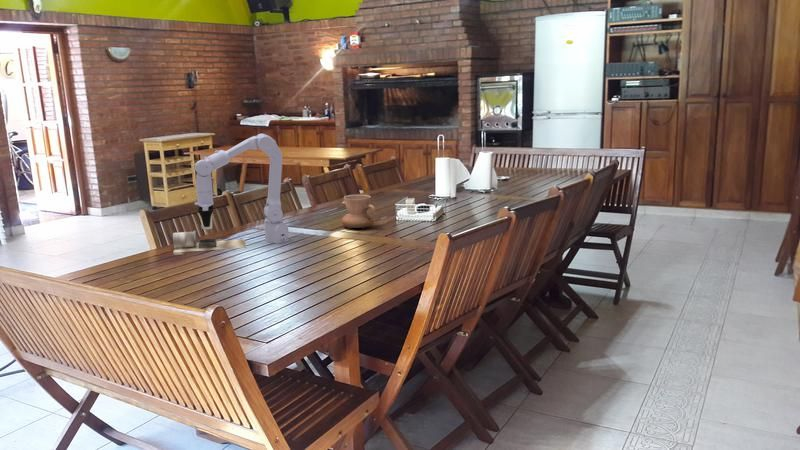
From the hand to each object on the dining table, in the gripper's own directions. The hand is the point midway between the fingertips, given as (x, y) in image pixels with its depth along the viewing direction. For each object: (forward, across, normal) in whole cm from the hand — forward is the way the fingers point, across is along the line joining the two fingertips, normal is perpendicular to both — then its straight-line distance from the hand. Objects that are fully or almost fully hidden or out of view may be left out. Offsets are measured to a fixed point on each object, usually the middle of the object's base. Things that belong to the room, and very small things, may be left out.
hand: (206, 225), depth 249 cm
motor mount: (+9, 0, +2) cm, 9 cm away
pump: (+1, 0, 0) cm, 1 cm away
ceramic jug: (+9, -20, +65) cm, 68 cm away
